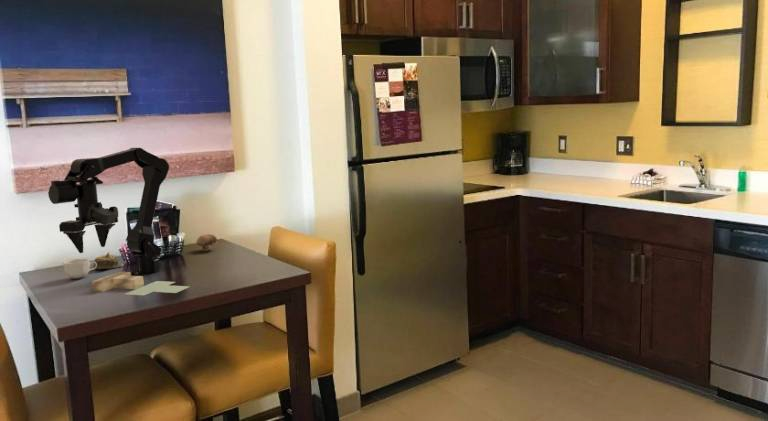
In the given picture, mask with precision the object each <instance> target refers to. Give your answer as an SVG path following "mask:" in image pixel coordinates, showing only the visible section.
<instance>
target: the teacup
mask: <svg viewBox="0 0 768 421" xmlns="http://www.w3.org/2000/svg"><path fill="white" fill-rule="evenodd" d="M92 264H96V266H95V267H94V268H91V266H92ZM62 265H63V269H64V273H65V275H66V276H67V277H68V278H70V279H81V278H84V277H86V276H87V275H88V274H89V272H91V271H94V270H96V269H95V268H96V267H97V263H96V262H95V261H90V259H89V258H75V259H67V260H66V261H65V260H64V261H63V262H62Z"/></svg>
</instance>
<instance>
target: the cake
mask: <svg viewBox="0 0 768 421" xmlns="http://www.w3.org/2000/svg"><path fill="white" fill-rule="evenodd" d="M119 261H120V260H119V259H118V256H117V255H116V254H115V255H114V254H110V252H109V251H108V252H107V253H106V255H101V256H97V257H95V259H94V262H96V263H97V267H96V268H95V269H94V270H106V269H116V268H121V267H123V266H124V263H120V262H119ZM95 266H96V264H95V263H93V268H94V267H95Z"/></svg>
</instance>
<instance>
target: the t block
mask: <svg viewBox="0 0 768 421" xmlns="http://www.w3.org/2000/svg"><path fill="white" fill-rule="evenodd" d="M144 282H145V281H144V276H143V275H132V273H131V272H130V271H118V272H115V273H112V274H109V275H107V276H103V277H101V278H98V279H95V280H91V284H92V291H93V292H104V293H105V292H106V291H109V290H112V289H123V290H124V289H126V290H136V289H138V288H141V287H143V286H145V283H144Z"/></svg>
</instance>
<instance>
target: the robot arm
mask: <svg viewBox="0 0 768 421" xmlns="http://www.w3.org/2000/svg"><path fill="white" fill-rule="evenodd" d="M131 162H132V163H133V162H134V163H135V164H136V165H137V166H138V167H139V168H141V169H142V178H143V182H144V185H143V189H142V195H141V199H140V205H139V210H138V215H137V218H136V223H135V225H134V226H133V228H128V230H127V235H126V239H125V241H126V247H127V248H128V249H129V251H131V254H132V256H135V260H136V270H137V272H134V274H135V275H152V274H153V275H154V274H155V273H158V272H160V271H162V269H161V268H160V259H159V258H158V256H161V253H162V248H161V247H159V245H157V244H156V243H155V235H154V234H155V233H154V232H153V231H154V230H153V223H154V222H153V220H154V217H155V212H156V207H157V201H158V197H159V192H160V187H161V185H162V183H164V181H165V180H166V178H167V175H168V173H169V170H170V163H169V162H168V160H166V159H164V158H161V157H159V156H157V155H155V154H153V153H150V152H148V151H147V150H145V149H144V148H142V147H130V148H129V149H125V150H122V151H121V150H120V151H118V152H114V153H112V154H107V155H103V156H100V157H90V158H89V157H87V158H77V159H75V160H72V162H71V164H70V169H69V171H68V173H67V174H66V175H65V178H64V179H63V180H51V181H50V183H51V185H50V186H49V189H48V192H47V194H48V198H49V201H50V202H51V203H52V205H53V204H54V205H58V204H65V203H74V202H75V201H77V203H75V204H74V205H73V206H74V208H77V213H78V216H77V217H75V220H72V219H71V220H66V221H61V222H60V224H59V225H58V227H59V232H60V233H61V232H63V234H64V235H66V236H67V238H68V239H69V240H70V241H71V242H72V245H74V247H75V249H76V250H77V251H78V252H79V254H83V253H84V235H85V233H86V231H87V230H85V228H86V227H88V226H89V227H90V226H92V225H93V226H94V228H95V231H96V235H97V238H98V242H99V245H100V247H101V248H104V247H106V245H107V244H106V243H107V239H108V235H109V232H110V230H111V229H112V228H113V227H115V226H116V223H119V208H118V207H117V206H109V208H107V207H106V208H105V207H103V204H102V202H101V201H100V202H99V201H98V190H97V185H103V184H104V182H103V180H101V179H99V177H98V176H99V175H101V174H103V172H104V171H106V170H108V169H111V168H115V167H118V166H121V165H126V164H128V163H131Z"/></svg>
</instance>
